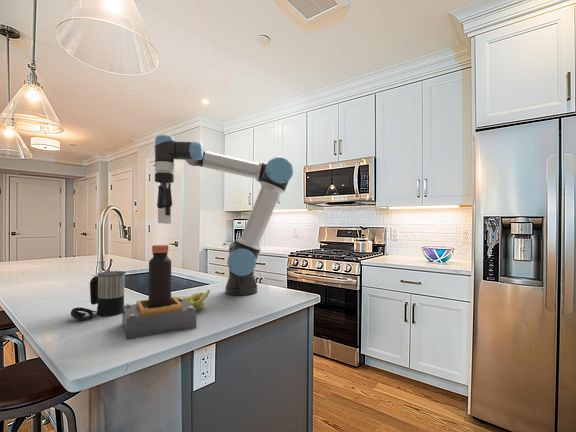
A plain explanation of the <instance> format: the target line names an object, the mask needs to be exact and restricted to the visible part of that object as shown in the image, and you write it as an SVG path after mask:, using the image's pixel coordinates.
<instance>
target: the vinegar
mask: <svg viewBox="0 0 576 432" xmlns="http://www.w3.org/2000/svg"><path fill="white" fill-rule="evenodd" d="M151 247H152V248H151V253H152V258H150V259H149V261H148V300H149V308H153V307H161V306H168V305H171V297H172V259H170V257H169V256H168V254H169V245H168V244H157V245H156V244H155V245H151Z"/></svg>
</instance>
